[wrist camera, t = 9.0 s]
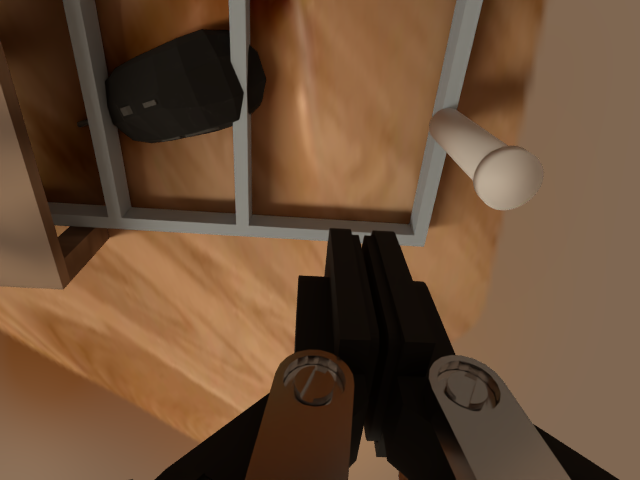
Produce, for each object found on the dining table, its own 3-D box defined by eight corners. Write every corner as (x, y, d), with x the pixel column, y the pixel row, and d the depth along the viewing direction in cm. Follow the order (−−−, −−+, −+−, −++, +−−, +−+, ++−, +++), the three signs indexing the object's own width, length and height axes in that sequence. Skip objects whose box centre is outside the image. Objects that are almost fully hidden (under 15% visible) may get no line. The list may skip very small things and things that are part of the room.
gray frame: (-215, -110, 23) (-702, -221, 12) (497, -42, 25) (641, -82, 14) (-71, 205, 33) (-265, 304, 22) (429, 235, 35) (483, 338, 24)
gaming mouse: (56, 81, 29) (19, 89, 25) (247, 15, 27) (236, 13, 23) (102, 163, 32) (74, 180, 28) (278, 108, 30) (272, 119, 26)
